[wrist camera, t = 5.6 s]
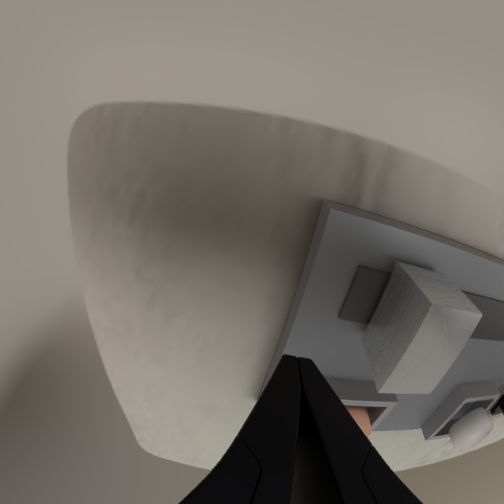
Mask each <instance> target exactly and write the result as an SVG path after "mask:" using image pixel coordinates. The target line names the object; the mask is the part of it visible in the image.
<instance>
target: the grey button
mask: <svg viewBox="0 0 504 504" xmlns="http://www.w3.org/2000/svg"><path fill="white" fill-rule="evenodd" d="M492 429H493V424H492V422H491V420H490V418H489V416H488V414H487V412H486V410H485V408H483V407H480V408H477V409H474V410H472V411H471V412H469V413H467V414H466V415H464V416H463V417H461V418H460V419H459V420H458V421H457V422H455V423H454V424H453V425H452V427H451V428H450V429H449V432H448V433H449V436H450V438H451V441H452V444H453V446H454V449H455V452H462V451H465V450H467V449H469V448H471V447H473V446H474V445H476V444H477V443H479V442H480V441H481V440H483V439H484V438H485V437H486V436H487V435H488V434H489V433H490V432H491V430H492Z"/></svg>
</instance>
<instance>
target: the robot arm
mask: <svg viewBox="0 0 504 504" xmlns="http://www.w3.org/2000/svg"><path fill="white" fill-rule="evenodd" d="M490 413H491V415H494V414H498V413H503V415H504V397H503V398H502V399H501V400H500V401H499V402H498V404H497V405H496V406H495V407H494V408H493V409H492V410H491V412H490ZM178 504H423V503H422V502H421V501H420V500H419V499H418V498H417V497H416V496H415V495H414V494H413V493H412V492H411V491H410V490H409V488H407V486H406V485H405V484H404V483H403V482H402V481H401V480H400V479H399V478H398V477H397V475H396V474H395V473H394V472H393V471H392V470H391V469H390V467H389V466H388V465H387V463H386V462H385V461H384V460H383V458H382V457H381V456H380V454H379V453H378V452H377V450H376V449H375V447H374V446H372V443H371V442H370V441H369V439H368V438H367V436H366V435H365V434H364V432H363V431H362V429H361V428H360V427H359V425H358V424H357V422H356V421H355V420H354V418H353V417H352V415H351V414H350V413H349V411H348V410H347V408H346V407H345V406H344V404H343V403H342V401H341V400H340V399H339V397H338V396H337V394H336V393H335V391H334V390H333V389H332V387H331V386H330V384H329V383H328V382H327V380H326V379H325V377H324V376H323V374H322V373H321V372H320V370H319V369H318V367H317V366H316V364H315V363H314V362H313V360H312V359H310V358H305V357H296V356H294V355H288V354H283V355H282V357H281V358H280V360H279V362H278V364H277V366H276V368H275V370H274V372H273V373H272V375H271V377H270V379H269V381H268V383H267V384H266V386H265V388H264V390H263V392H262V393H261V395H260V397H259V399H258V400H257V402H256V404H255V406H254V407H253V409H252V411H251V413H250V414H249V416H248V418H247V419H246V421H245V423H244V424H243V426H242V428H241V429H240V431H239V433H238V435H237V436H236V437H235V439H234V440H233V442H232V444H231V445H230V447H229V448H228V450H227V451H226V453H225V454H224V455H223V457H222V458H221V460H220V461H219V462H218V463H217V465H216V466H215V467H214V468H213V469H212V470H211V471H210V473H209V474H208V475H207V476H206V477H205V478H204V479H203V480H202V481H201V482H200V483H199V484H198V485H197V486H196V487H195V488H194V489H193V490H192V491H191V492H190V493H189V494H188V495H187V496H186V497H185V498H184V499H183V500H182V501H181V502H180V503H178Z"/></svg>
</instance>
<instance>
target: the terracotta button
mask: <svg viewBox="0 0 504 504" xmlns="http://www.w3.org/2000/svg"><path fill="white" fill-rule="evenodd" d="M344 406H345V407H346V408H347V410H348V411H349V413H350V414H351V415H352V417H353V418H354V420H355V421H356V422H357V424H358V425H359V427H360V428H361V429H362V431H363V432H364V434H365V435H366V436H368V435H369V433H370V431H371V425H370V420H369V416H368V411H367V407H366V406H351V405H344Z"/></svg>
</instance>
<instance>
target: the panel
mask: <svg viewBox="0 0 504 504" xmlns="http://www.w3.org/2000/svg"><path fill="white" fill-rule="evenodd" d="M397 261H398V262H402V263H405V264H409V265H413V266H416V267H420V268H424V269H427V270H431V271H435V272H438V273H442V274H445V275H446V276H447V277H448V278H449V279H450V280H451V281H452V282H453V283H454V284H455V285H456V286H457V287H458V288H459V289H460V290H461V291H462V292H463V293H464V294H465V295H466V296H467V297H468V299H469V300H470V301H471V302H472V303H473V304H474V305H475V306H476V307H477V308H478V309H479V310H480V312H481V313H482V314H483V315H482V317H481V319H480V321H479V323H478V324H477V326H476V328H475V329H474V331H473V333H472V335H471V336H470V338H469V339H468V341H467V343H466V344H465V346H464V347H463V349H462V350H461V352H460V354H459V355H458V356H457V358H456V359H455V361H454V362H453V364H452V365H451V367H450V368H449V369H448V371H447V372H446V374H445V375H444V376H443V378H442V379H441V380H440V382H439V383H438V384H437V386H436V387H435V388H434V389H433V391H432V392H431V393H430V394H396V393H378V391H377V388H376V385H375V381H374V378H373V375H372V372H371V369H370V365H369V362H368V359H367V356H366V353H365V350H364V347H363V344H362V341H361V339H362V337H363V335H364V333H365V331H366V329H367V327H368V325H369V323H370V321H371V319H372V317H373V315H374V313H375V311H376V308H377V306H378V304H379V302H380V300H381V298H382V295H383V293H384V291H385V289H386V286H387V284H388V282H389V279H390V277H391V275H392V272H393V270H394V267H395V265H396V262H397ZM283 354H288V355H294V356H296V357H305V358H310V359H312V360H313V362H314V363H315V364H316V366H317V367H318V369H319V370H320V372H321V373H322V374H323V376H324V377H325V379H326V380H327V382H328V383H329V384H330V386H331V387H332V389H333V390H334V391H335V393H336V394H337V396H338V397H339V399H340V400H341V401H342V403H343V404H344V405H351V406H366V407H367V411H368V416H369V420H370V425H371V431H370V433H371V432H372V431H388V430H406V429H419V428H422V431H423V434H424V437H425V440H433V439H439V438H445V437H450V436H449V433H448V432H449V429H450V428H451V427H452V425H453V424H454V423H455V422H457V421H458V420H459V419H460V418H461V417H463V416H464V415H466V414H467V413H469V412H471V411H472V410H474V409H477V408H480V407H483V408H485V410H486V411H487V410H488V409H489V408H490V407H491V406H492V405H493V403H494V402H495V401H496V400H497V399H498V398H499V396H500V395H501V392H500V390H499V389H500V388H501V387H502V385H503V384H504V261H503V260H501V259H499V258H496V257H494V256H492V255H489V254H487V253H484V252H482V251H479V250H477V249H474V248H472V247H469V246H467V245H464V244H461V243H459V242H456V241H453V240H451V239H448V238H445V237H443V236H440V235H437V234H434V233H431V232H428V231H426V230H423V229H420V228H417V227H414V226H411V225H408V224H405V223H402V222H399V221H395V220H392V219H389V218H386V217H383V216H380V215H376V214H373V213H370V212H366V211H363V210H359V209H356V208H353V207H349V206H345V205H342V204H338V203H335V202H331V201H327V200H324V199H323V203H322V206H321V210H320V214H319V217H318V221H317V224H316V228H315V231H314V235H313V238H312V241H311V245H310V248H309V252H308V255H307V258H306V261H305V265H304V268H303V271H302V274H301V277H300V281H299V284H298V287H297V290H296V293H295V296H294V299H293V302H292V305H291V308H290V311H289V314H288V317H287V320H286V323H285V326H284V329H283V332H282V335H281V338H280V340H279V343H278V346H277V349H276V352H275V354H274V357H273V360H272V363H271V365H270V368H269V371H268V373H267V376H266V379H265V381H264V384H263V387H262V389H261V392H260V394H259V397H260V395H261V393H262V392H263V390H264V388H265V386H266V384H267V383H268V381H269V379H270V377H271V375H272V373H273V372H274V370H275V368H276V366H277V364H278V362H279V360H280V358H281V357H282V355H283ZM259 397H258V399H259ZM370 433H369V435H370ZM369 435H368V436H369ZM368 436H367V437H368Z"/></svg>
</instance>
